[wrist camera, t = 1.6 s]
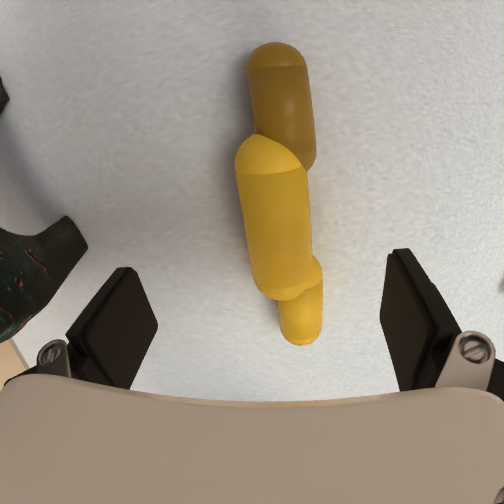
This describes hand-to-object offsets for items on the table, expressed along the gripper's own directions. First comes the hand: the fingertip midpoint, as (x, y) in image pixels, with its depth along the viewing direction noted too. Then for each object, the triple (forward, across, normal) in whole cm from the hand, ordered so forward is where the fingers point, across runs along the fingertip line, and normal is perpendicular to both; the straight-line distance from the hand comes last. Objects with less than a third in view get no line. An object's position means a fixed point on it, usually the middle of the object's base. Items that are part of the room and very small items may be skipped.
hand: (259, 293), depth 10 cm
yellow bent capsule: (+7, 0, 0) cm, 7 cm away
